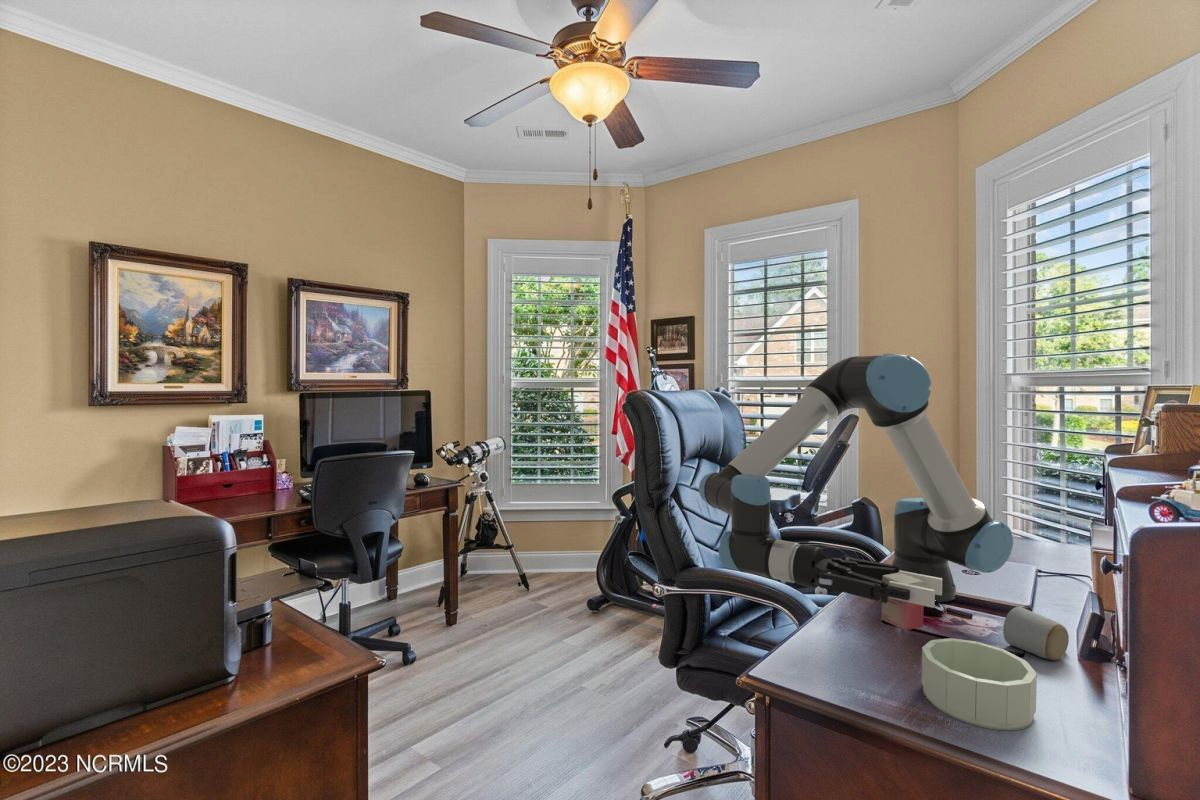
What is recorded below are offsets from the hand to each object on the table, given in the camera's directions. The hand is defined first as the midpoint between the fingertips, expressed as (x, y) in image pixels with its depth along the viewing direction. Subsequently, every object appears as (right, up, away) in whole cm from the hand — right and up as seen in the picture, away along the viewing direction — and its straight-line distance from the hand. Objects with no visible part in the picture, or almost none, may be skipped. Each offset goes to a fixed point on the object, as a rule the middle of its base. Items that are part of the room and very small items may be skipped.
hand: (937, 592), depth 93 cm
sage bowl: (+6, -18, 0) cm, 19 cm away
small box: (-4, -7, +4) cm, 9 cm away
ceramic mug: (+29, -17, +17) cm, 38 cm away
